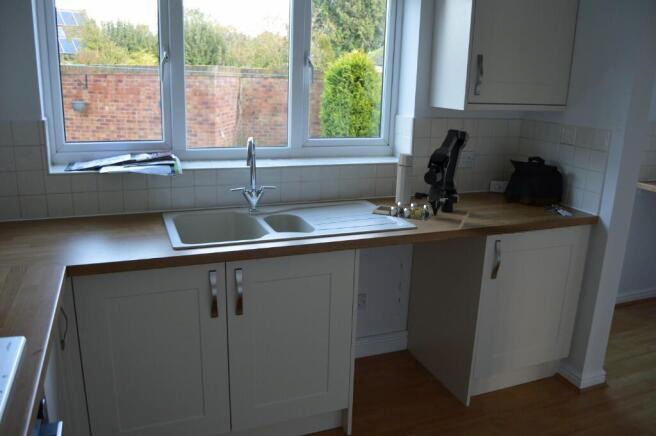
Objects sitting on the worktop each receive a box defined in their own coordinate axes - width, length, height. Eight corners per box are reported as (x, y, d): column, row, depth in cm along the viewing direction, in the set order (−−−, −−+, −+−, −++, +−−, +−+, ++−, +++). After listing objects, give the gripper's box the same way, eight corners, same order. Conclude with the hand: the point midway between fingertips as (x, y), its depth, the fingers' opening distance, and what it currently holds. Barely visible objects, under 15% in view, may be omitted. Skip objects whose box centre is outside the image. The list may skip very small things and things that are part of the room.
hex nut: (409, 216, 233) (409, 209, 233) (412, 213, 238) (412, 207, 238) (420, 217, 232) (420, 211, 231) (422, 214, 237) (423, 208, 236)
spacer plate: (379, 209, 248) (380, 199, 247) (432, 216, 239) (433, 205, 238) (371, 215, 236) (371, 205, 235) (426, 222, 227) (427, 211, 226)
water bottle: (413, 206, 256) (417, 155, 250) (399, 207, 253) (402, 155, 247) (404, 202, 264) (407, 152, 258) (390, 202, 262) (393, 153, 255)
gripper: (412, 182, 224) (410, 217, 228) (457, 186, 217) (453, 222, 221) (418, 177, 234) (415, 211, 238) (461, 182, 227) (457, 216, 231)
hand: (435, 215), depth 232 cm, fingers closed
